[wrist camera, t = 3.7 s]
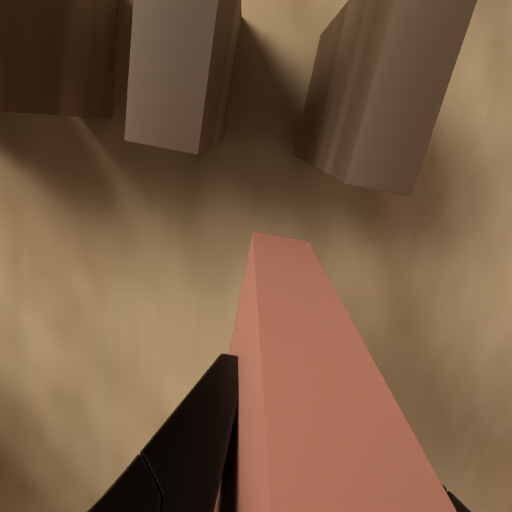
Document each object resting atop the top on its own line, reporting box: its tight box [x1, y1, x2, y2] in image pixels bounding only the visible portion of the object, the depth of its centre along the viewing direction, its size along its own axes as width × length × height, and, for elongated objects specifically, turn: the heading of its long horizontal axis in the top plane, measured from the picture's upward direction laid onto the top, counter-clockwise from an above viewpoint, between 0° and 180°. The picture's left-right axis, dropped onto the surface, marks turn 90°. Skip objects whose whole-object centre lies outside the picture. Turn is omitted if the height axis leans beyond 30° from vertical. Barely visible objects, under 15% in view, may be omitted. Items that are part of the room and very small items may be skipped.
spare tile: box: [214, 232, 457, 512], centre depth 6 cm, size 2×5×9 cm, turn 169°
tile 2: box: [124, 0, 242, 155], centre depth 11 cm, size 2×5×9 cm, turn 169°
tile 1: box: [0, 0, 118, 119], centre depth 11 cm, size 2×5×9 cm, turn 169°
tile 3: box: [294, 0, 477, 196], centre depth 12 cm, size 2×5×9 cm, turn 169°
